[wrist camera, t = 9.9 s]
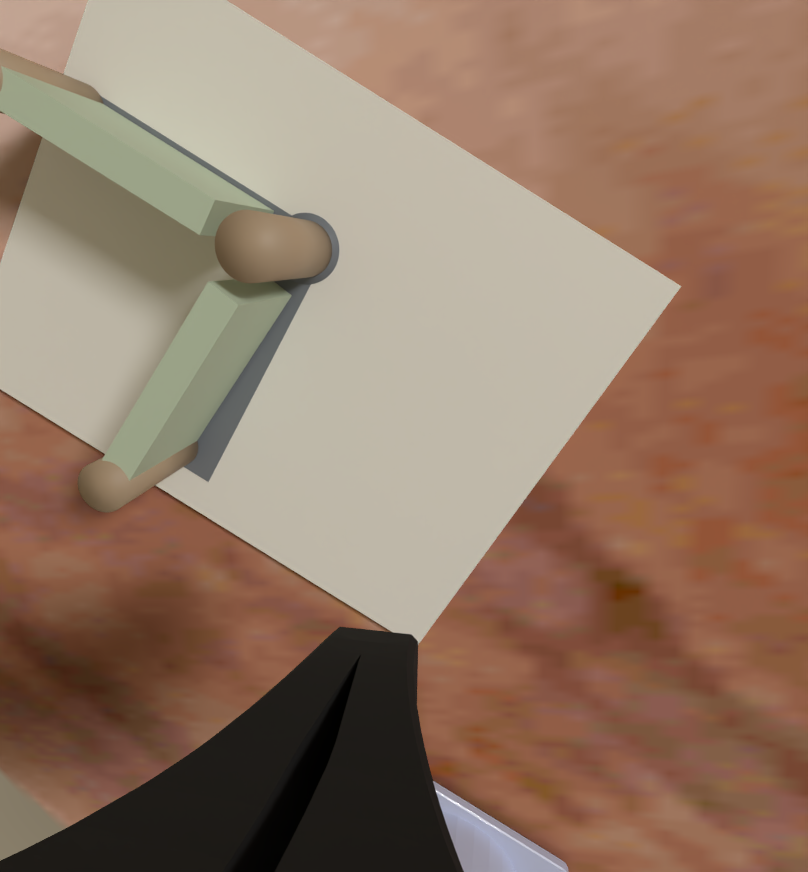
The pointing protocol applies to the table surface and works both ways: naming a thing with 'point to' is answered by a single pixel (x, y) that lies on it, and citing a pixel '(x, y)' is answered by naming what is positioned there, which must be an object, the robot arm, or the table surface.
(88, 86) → the fence fixed
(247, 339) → the fence panel
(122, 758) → the table surface
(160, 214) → the card
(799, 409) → the table surface
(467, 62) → the table surface
